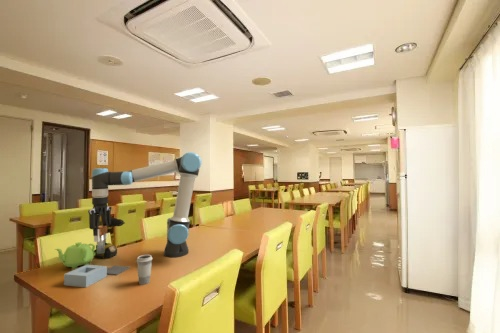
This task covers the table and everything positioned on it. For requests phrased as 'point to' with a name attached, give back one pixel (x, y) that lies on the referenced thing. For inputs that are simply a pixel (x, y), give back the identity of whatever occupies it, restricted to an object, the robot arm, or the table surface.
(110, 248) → the cordless drill
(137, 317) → the table surface
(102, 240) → the brown-topped metal cylinder
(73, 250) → the teapot
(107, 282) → the table surface
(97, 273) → the block
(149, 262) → the cup
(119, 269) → the mat
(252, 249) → the table surface
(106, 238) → the robot arm
